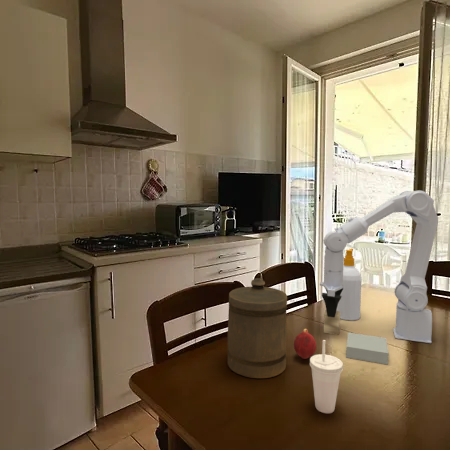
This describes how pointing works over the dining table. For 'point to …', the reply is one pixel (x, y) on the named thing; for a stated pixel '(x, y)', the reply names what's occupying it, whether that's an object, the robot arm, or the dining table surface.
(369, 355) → the base
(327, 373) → the smoothie
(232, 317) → the wooden container
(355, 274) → the soap bottle
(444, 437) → the dining table surface
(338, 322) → the block
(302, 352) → the onion
